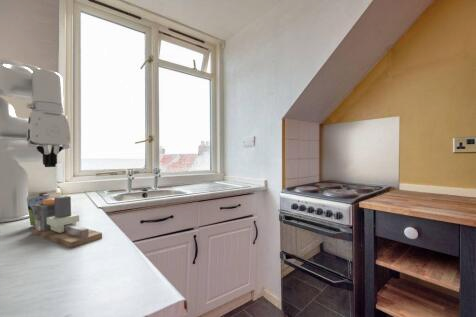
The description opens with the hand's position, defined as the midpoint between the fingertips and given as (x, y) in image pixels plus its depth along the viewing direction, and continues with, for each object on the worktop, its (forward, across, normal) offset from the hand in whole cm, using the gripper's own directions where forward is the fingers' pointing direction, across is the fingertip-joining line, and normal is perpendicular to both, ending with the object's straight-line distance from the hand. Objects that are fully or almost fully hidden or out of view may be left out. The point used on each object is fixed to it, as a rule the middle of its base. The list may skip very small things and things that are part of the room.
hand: (50, 166), depth 71 cm
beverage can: (+21, +1, +11) cm, 24 cm away
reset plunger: (+13, 0, 0) cm, 13 cm away
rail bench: (+21, 0, -9) cm, 23 cm away
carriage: (+19, 0, -8) cm, 21 cm away
